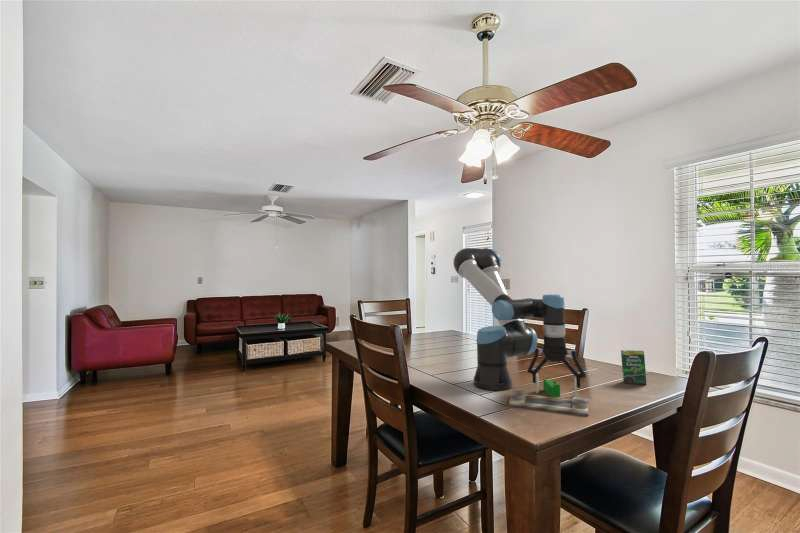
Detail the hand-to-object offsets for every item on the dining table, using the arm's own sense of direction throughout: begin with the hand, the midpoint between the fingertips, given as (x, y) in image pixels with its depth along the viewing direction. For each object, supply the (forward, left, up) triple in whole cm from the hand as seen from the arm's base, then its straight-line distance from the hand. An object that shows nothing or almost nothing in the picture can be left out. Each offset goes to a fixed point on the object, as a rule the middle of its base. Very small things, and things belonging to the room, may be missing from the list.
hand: (556, 394), depth 135 cm
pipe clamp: (-1, 0, -1) cm, 1 cm away
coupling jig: (-2, -14, 0) cm, 14 cm away
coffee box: (+28, +27, 0) cm, 39 cm away
